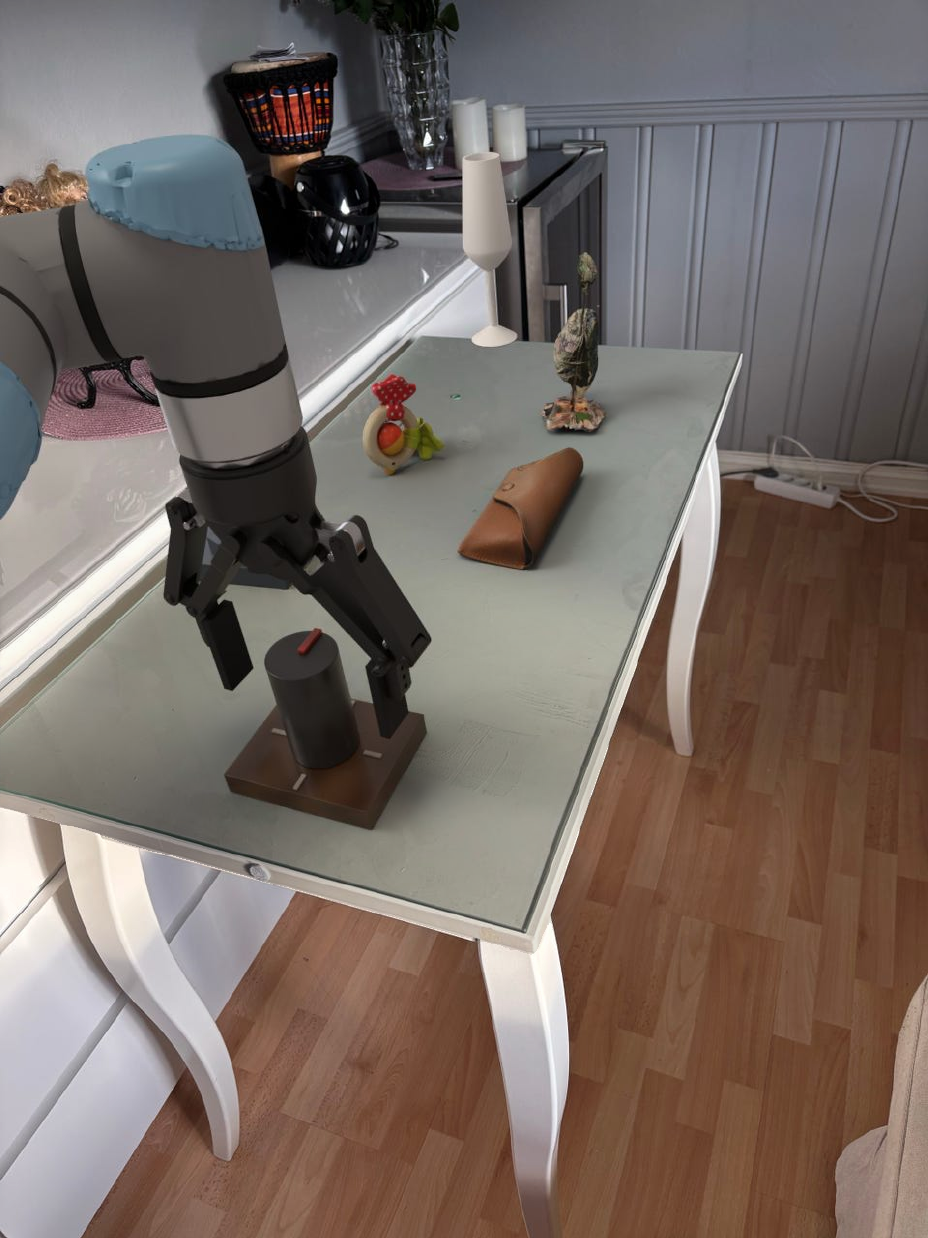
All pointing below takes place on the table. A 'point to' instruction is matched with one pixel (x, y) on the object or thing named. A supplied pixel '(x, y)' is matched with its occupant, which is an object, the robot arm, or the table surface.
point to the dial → (313, 698)
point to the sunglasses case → (523, 511)
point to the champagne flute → (486, 233)
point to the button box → (242, 574)
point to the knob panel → (328, 769)
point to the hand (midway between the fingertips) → (314, 701)
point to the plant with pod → (577, 362)
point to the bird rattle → (396, 427)
